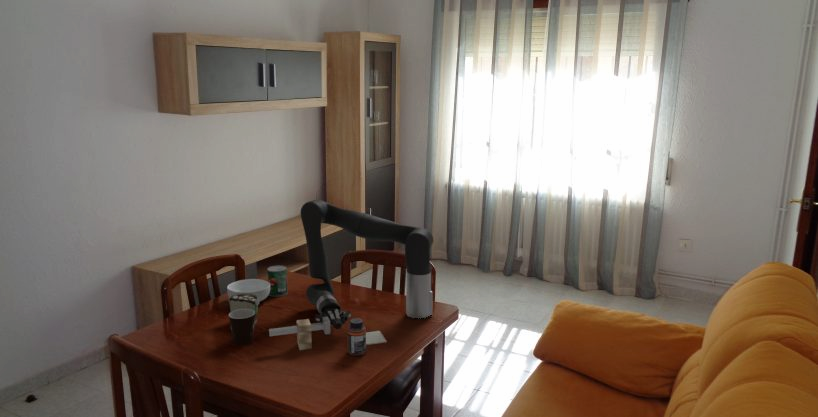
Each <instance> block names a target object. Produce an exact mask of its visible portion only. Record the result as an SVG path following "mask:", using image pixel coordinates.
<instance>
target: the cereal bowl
mask: <svg viewBox="0 0 818 417" xmlns="http://www.w3.org/2000/svg"><path fill="white" fill-rule="evenodd" d="M226 291H227V292H226V293H227V296H228V297H229V296H231V295H234V294H238V293H252V294H255V295H257V296H258V298H259V302H262V301H264V300H265V299H267V297H268V296H270V295H269V293H270V283H269V282H268V280H265V279H259V278H248V279H246V278H245V279H240V280H237V281H234V282H231V283H229V284H227V287H226Z"/></svg>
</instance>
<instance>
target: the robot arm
mask: <svg viewBox="0 0 818 417" xmlns="http://www.w3.org/2000/svg"><path fill="white" fill-rule="evenodd" d="M300 218H301V222H302V228H303V231H304V236H305V240H306V241H305V242H306V247H307V255H308V269H309V276H310V277H311V279H317V280H322V281H323V282H321V283H315V284H314V283H313V284H311V285H308V287H307V288H306V290H305V292H306V293H305V294H306V298H307V301H308V302H309V303H310V304H312V305H313V306H315V307H316V308H317V312H318V313H319V314H315V323H322V322H323V321H322V317H328V318H329V320H330V326H332V327H333V328H334V329H336V330H341V328H342V327H343V325H344V324H346V323H347V322H348V321H349V320H351V317H352V316H351V310H347V311H344V310H342V307H341V305H340V304H339V303H338V301H337V299H336V298H335V297H334V296H335V290H334V287H333V284H332V282H331V278H330V276H329V268H328V257H327V252H326V249H325V245H324V243H323V239H322V231H321V230H322V224H327V225H332V226H336V227H338V228H341V229H343V230H344V231H346V232H347V233H349V234H351V235H353V236H356V237H357V238H362V239H365V240H368V241H369V240H370V241H374V242H375V241H376V242H395V243H399V244H402V245H404V259H405V260H404V261H405V262H404V263H405V267H406V294H405V295H406V306H405V307H406V308H405V310H406V316H407V317H408V318H410V317H411V318H410V319H414V318H418V319H417V320H422V319H421V318H424V319H427V318H429V317H431V316H430V315H432V316H433V310H434V309H433V308H434V307H433V302H434V298H433V296H434V294H433V293H434V292H433V291H432V264H431V263H430V259H431V258H430V255H431V254H430V253H431V250H430V249H431V247H432V246H433V243H434V236H433V234H432V233H431V231H429V230H428V229H426V228H424V227H419V226H414V225H406V224H402V223H398V222H395V221H391V220H389V219H386V218H381V217H378V216H376V215H372V214H369V213H365V212H361V211H356V210H350V209H347V208H342V207H339V206H337V205H334V204H331V203H329V202H326V201H324V200H320V199H313V200H310V201H307V202H305V203H304V204H303V205H302V206H301V209H300ZM428 316H429V317H428ZM426 317H427V318H426ZM419 318H420V319H419Z"/></svg>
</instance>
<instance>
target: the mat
mask: <svg viewBox="0 0 818 417" xmlns="http://www.w3.org/2000/svg"><path fill="white" fill-rule="evenodd" d="M385 343H387V340H386V338H385V337H384V335H383V334H382V332H381V331H380V330H375V331H369V332H368V331H366V346H370V345H376V344H385Z"/></svg>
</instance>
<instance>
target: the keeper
mask: <svg viewBox="0 0 818 417" xmlns="http://www.w3.org/2000/svg"><path fill="white" fill-rule="evenodd" d="M311 324H312V323H311V322H310V318H306V319H305V318H304V319H297V320H296V326H298V333H296V337H297V338H296V339H297V341H296V342H297V346H298V350H299V351H304V350H312V349H313V348H312V347H313V344H312V331H311Z"/></svg>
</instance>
